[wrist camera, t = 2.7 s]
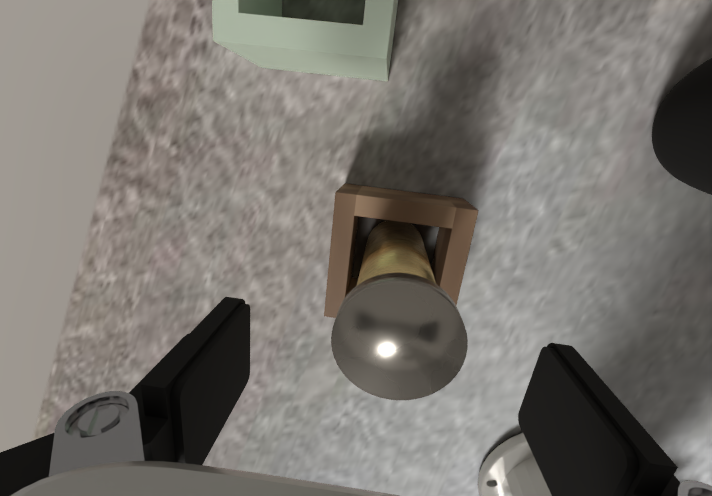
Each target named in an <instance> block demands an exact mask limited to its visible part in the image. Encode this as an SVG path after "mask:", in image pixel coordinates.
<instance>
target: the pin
mask: <svg viewBox="0 0 712 496" xmlns="http://www.w3.org/2000/svg"><path fill="white" fill-rule="evenodd" d="M331 344H332V351H333V355H334V358H335V360H336V362H337V365H338V366H339V368H340V370H341V371H342V372H343V374H344V375H345V376H346V377H347V378H348V379H349V380H350V381H351V382H352V383H353V384H355V385H356V386H357V387H359V388H360V389H362V390H364V391H365V392H367V393H370V394H372V395H375V396H378V397H381V398H385V399H391V400H411V399H417V398H422V397H425V396H428V395H430V394H433V393H435V392H437V391H438V390H440V389H442V388H443V387H445V386H446V385H447V384H448V383H450V382H451V381H452V379H453V378H454V377H455V376H456V375H457V373H458V372H459V371H460V369H461V367H462V365H463V363H464V360H465V357H466V353H467V333H466V330H465V326H464V323H463V321H462V318H461V316H460V313H459V311H458V309H457V307H456V304H455V303H454V301H453V300H452V298H451V297H450V296H449V295H448V294H447V293H446V291H444V290H443V289H442V288H441V287H440V286H438V285H437V284H436V281H435V278H434V275H433V272H432V269H431V265H430V262H429V259H428V256H427V253H426V249H425V246H424V243H423V240H422V237H421V235H420V233H419V231H418V230H417V229H416V228H415V227H414V226H413V225H412V224H410V223H406V222H399V221H391V220H387V221H384V222H382V223H380V224H379V225H377V226H376V227H375V228H374V229H373V230H372V231H371V233H370V235H369V237H368V240H367V244H366V248H365V253H364V257H363V261H362V265H361V269H360V274H359V278H358V282H357V286H356V287H354V288H353V289H352V290H351V291H350V292H349V293H348V294H347V296H346V297H345V298H344V300H343V301H342V303H341V305H340V307H339V310H338V313H337V316H336V319H335V322H334V326H333V330H332V337H331Z"/></svg>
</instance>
